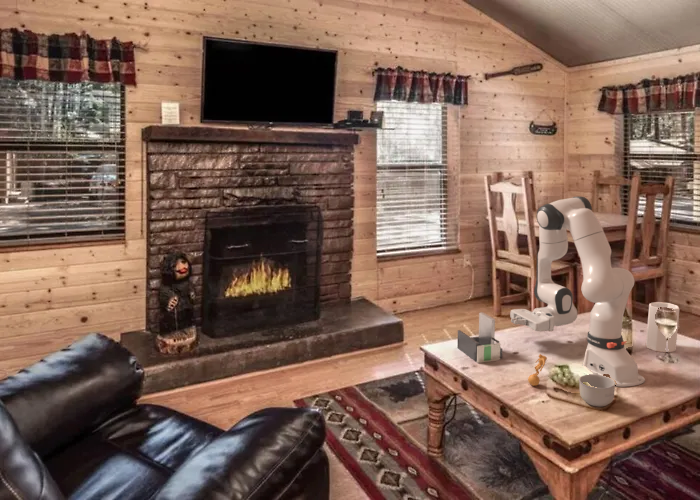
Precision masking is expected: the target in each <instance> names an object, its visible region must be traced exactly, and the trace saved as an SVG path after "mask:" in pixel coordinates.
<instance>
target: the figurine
mask: <svg viewBox="0 0 700 500" xmlns="http://www.w3.org/2000/svg"><path fill="white" fill-rule="evenodd" d="M546 362H547V356H545V355H542V354H541V353H539V354H538V358H537V360H535V363H537V364H536V365H535V366H534V370H535V373H533V374H531V375H529V376H528V377H527V382H528V383H529V385H530V386H532V387H536V386H538V385H539V384H540V381H541V380H540V377H539V374H540V372H542V371H543V368H544V366H546V365H545V364H546Z"/></svg>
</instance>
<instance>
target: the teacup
mask: <svg viewBox="0 0 700 500" xmlns="http://www.w3.org/2000/svg"><path fill="white" fill-rule="evenodd" d="M578 382H579V383H578V385H579V395H580V397H581V399H582V400H583V401H584V402H585V403H587V404H588V405H590V406H592V407H598V408H599V407H605V406H608V405H609V404H611V403H612V402H613V401H614V398H615V390H616V389H615V387H616V386H615V382H614V380H613V379H611V378H609V377H606V376H603V375H598V373H593V374H589V375H587V374H584V375H581V376H580V377H579V379H578ZM583 382H588V383H589V384H590V385H591V386H594V387H590V386H587V385H585V384H583ZM595 387H597V388H595Z"/></svg>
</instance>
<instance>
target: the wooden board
mask: <svg viewBox="0 0 700 500" xmlns="http://www.w3.org/2000/svg"><path fill="white" fill-rule="evenodd" d="M495 328H496V319H495V318H494V317H492V316H490V315H489V314H487V313H485V312H483V311H481V312H479V313H478V336H479V344H480V345H487V344H495V342H496V343H500V341H499V340H497V339H496V338H495V332H496V330H495Z"/></svg>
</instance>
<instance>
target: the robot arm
mask: <svg viewBox="0 0 700 500" xmlns="http://www.w3.org/2000/svg"><path fill="white" fill-rule="evenodd" d="M536 221H537V224H538V225H539V226H538V227H539V228H538V240H539V249H538V251H537V255H536V280H535V285H534V289H533V290H534V291H533V292H534V297H535V298H536V300H537V301H539V302H541V303H544V304H546V305H547V306H542V307H536V308H534V309H533V310H532V311H531V310H528V309H526V308H516V309H515V308H514V309H511V310H510V313H509V315H510V316H509V317H510V318H511V319H510V322H511V323H512V324H514V325H522V326H526V327H527V328H529V329H531V330H534V331H535V332H554V330H555V327H562V326H566V325H567V326H568V325H570V324H573V323H574V322H575V321H576V320H577V318H578V310H577V308H576V306H575V305H574V303H573V301H574V296H573V292H572V291H571V289H570V288H568V287H565V286H562V285H560V284H558V283H555V282H554V281H553V279H552V263H553V261H557V260H560V259H561V258H563V257H564V256H565V255H566V254H567V252H568V249H569V241H568V233H567V230H568V231H569V233H570V235H571V237H572V241H573V243H574V246H575V248H576V251H577V254H578V256H579V258H580V263H581V268H582V269H581V270H582V283H581V288H580V289H581V293H582V295H583V298H585V299H586V300H587V301H588V302H590V303H594V305H593V307H592V309H591V310H590V313H589V325H588V326H589V327H588V329H589V330H588V331H587V336H586V340H587V346H586V349H585V353H584V357H583V362H582V365H584V366H586V367H587V368H588V369H589V370H591V371H592V372H593V373H598V375H603V374H609V375H610V377H611V378H612V379H614V380H615V381H616V383H617V384H616V386H615V387H619V388H620V387H621V388H622V387H633V386H634V387H635V386H638V385H642V384H643V383H645V382H646V379H645V377H643V376H642V375H641V374H639V369H638V368H639V367H638V363H637V362H636V360H635V358H634V357H632V356H631V355H630V353H629V352H628V350H627V349H626V348H625V344H627V342H628V341H624V338H623V335H622V330H623V329H622V328H623V321H624V319H623V318H624V313H625V310H626V307H627V304H628V300H629V297H630V293H631V291H632V289H633V287H634V285H635V277H634V275H633V273H632V272H631V271H630V270H628V269H627V268H623V267H612V262H611V255H612V249H611V246H610V243H609V240H608V238H607V235H606V234H605V231H604V228H603V227H602V224H601V223H600V221H599V219H598V218H597V216H596V214H595V213H594V212H593V208H592V204H591V201H590V200H589V199H588V198H587V197H584V196H582V195H581V196H573V197H570V198H569V197H568V198H564V199H558V200H554V201H552V202H550V203H546V204H543V205H542V206H540V207H539V208H538V209H537V211H536Z"/></svg>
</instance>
